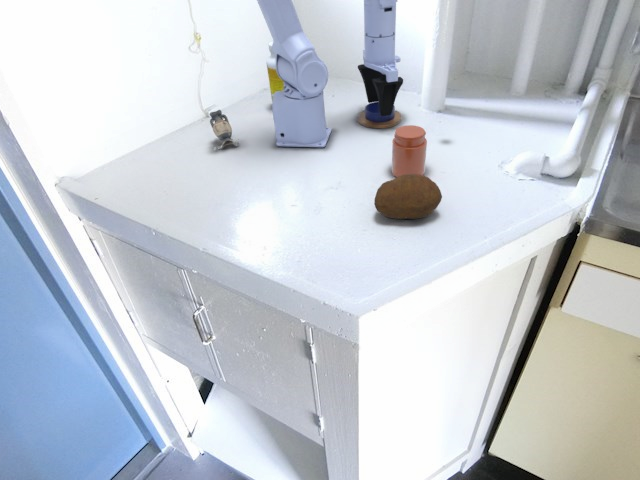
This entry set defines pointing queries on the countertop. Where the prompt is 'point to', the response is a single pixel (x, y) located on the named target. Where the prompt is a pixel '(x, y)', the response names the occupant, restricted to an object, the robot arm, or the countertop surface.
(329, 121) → the countertop surface
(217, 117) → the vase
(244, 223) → the countertop surface
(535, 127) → the countertop surface
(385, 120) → the lid
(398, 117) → the coaster
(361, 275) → the countertop surface
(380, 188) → the potato
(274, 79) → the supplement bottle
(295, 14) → the robot arm
